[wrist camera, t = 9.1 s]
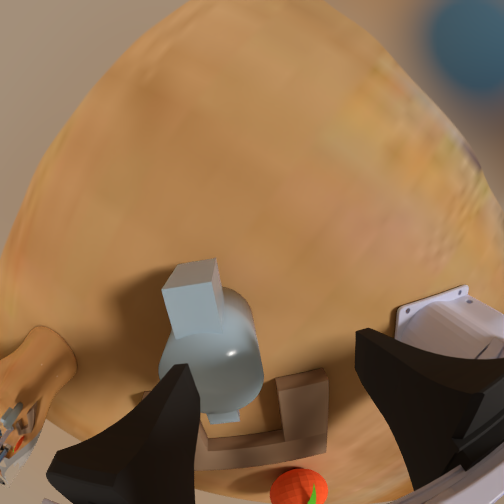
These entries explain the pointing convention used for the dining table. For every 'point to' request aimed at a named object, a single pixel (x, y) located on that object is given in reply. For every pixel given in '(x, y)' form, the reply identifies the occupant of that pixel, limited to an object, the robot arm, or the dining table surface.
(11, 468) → the beer glass
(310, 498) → the clementine
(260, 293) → the dining table surface
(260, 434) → the dock
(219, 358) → the grey tabbed rounded part
